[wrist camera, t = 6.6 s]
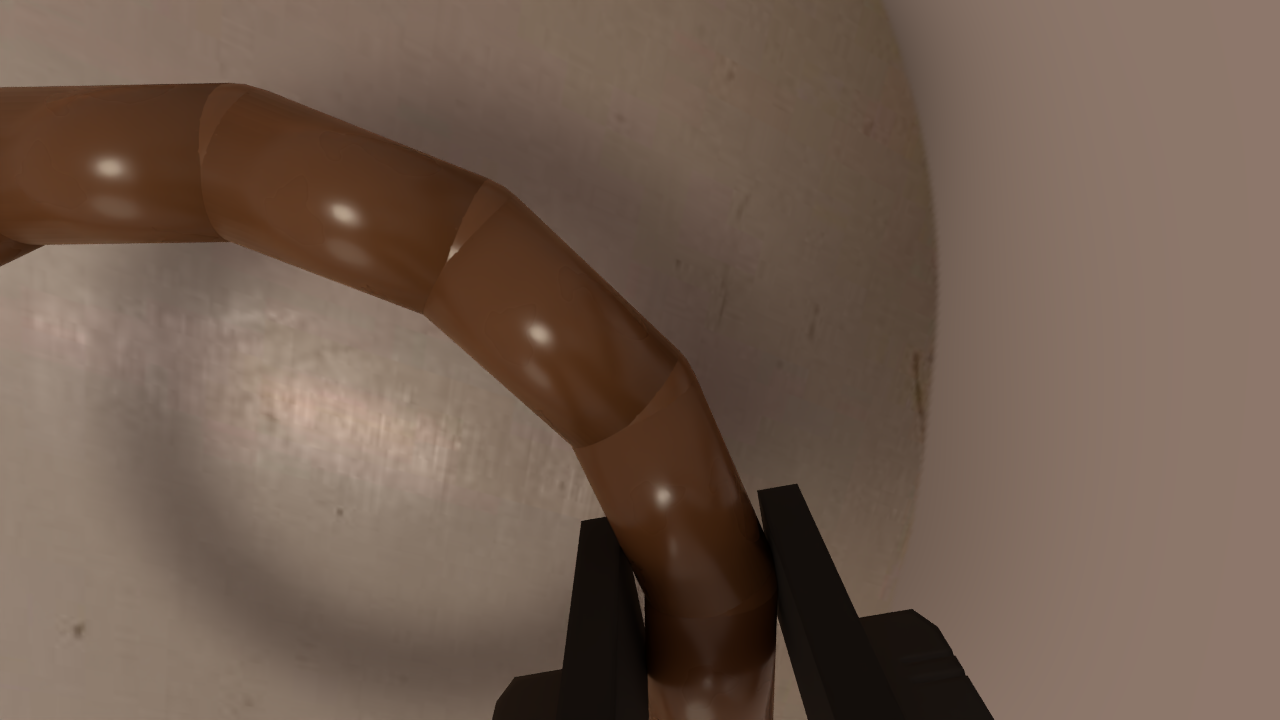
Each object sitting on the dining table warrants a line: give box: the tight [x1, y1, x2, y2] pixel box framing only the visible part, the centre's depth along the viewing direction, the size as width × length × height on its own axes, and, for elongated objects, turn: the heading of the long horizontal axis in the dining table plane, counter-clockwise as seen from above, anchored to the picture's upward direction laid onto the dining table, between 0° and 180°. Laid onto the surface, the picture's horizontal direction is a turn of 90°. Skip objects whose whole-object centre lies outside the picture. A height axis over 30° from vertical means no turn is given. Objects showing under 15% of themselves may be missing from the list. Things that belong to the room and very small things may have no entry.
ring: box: [0, 83, 778, 720], centre depth 15 cm, size 21×21×2 cm
